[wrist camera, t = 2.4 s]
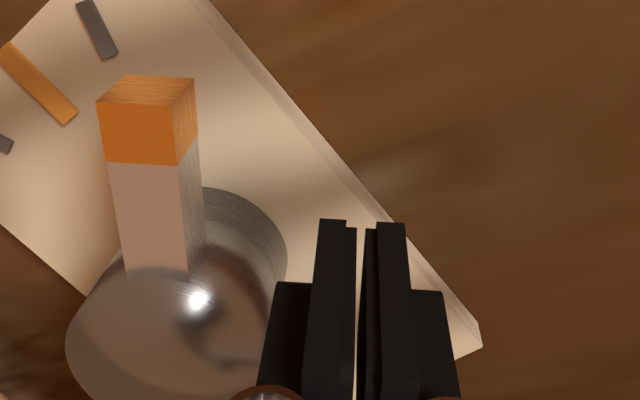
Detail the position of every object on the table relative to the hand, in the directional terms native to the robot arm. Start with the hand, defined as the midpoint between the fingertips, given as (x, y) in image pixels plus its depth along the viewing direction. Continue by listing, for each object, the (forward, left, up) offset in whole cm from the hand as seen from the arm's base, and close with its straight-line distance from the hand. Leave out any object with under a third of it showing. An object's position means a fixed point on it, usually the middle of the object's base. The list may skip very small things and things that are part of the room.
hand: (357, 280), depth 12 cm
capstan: (-1, +8, -9) cm, 12 cm away
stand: (-1, +8, -10) cm, 13 cm away
